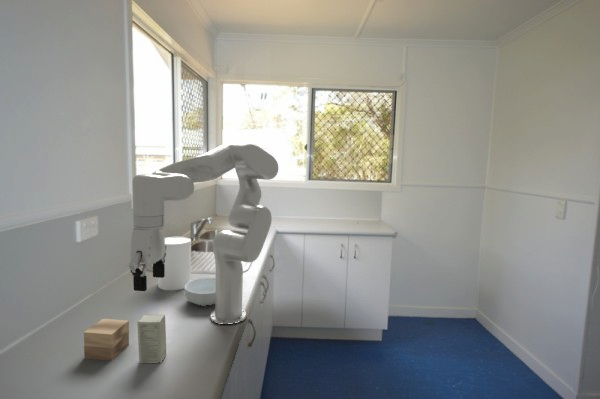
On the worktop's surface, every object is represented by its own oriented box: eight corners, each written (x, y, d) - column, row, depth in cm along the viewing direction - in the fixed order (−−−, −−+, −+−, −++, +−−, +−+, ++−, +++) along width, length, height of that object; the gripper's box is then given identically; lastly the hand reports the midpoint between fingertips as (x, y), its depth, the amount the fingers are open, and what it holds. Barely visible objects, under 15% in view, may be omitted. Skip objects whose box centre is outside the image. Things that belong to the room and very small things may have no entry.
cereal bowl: (216, 314, 122) (217, 295, 121) (175, 308, 125) (175, 290, 125) (234, 296, 139) (235, 279, 138) (198, 291, 142) (198, 275, 141)
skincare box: (166, 354, 96) (166, 314, 95) (160, 364, 92) (160, 322, 90) (144, 354, 96) (143, 313, 95) (137, 363, 92) (136, 321, 90)
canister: (169, 292, 139) (169, 245, 137) (152, 284, 147) (151, 240, 145) (197, 284, 150) (197, 240, 147) (179, 276, 158) (179, 235, 155)
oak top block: (103, 331, 101) (103, 318, 100) (128, 333, 100) (128, 320, 100) (84, 345, 93) (83, 332, 92) (112, 348, 92) (111, 334, 92)
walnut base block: (103, 343, 101) (103, 331, 101) (129, 346, 100) (128, 333, 100) (84, 359, 93) (84, 345, 93) (111, 361, 93) (111, 348, 92)
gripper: (151, 215, 97) (152, 272, 99) (115, 227, 80) (117, 295, 82) (177, 216, 97) (177, 273, 99) (145, 228, 80) (146, 297, 82)
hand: (149, 283), depth 91 cm, fingers open, 9 cm apart
